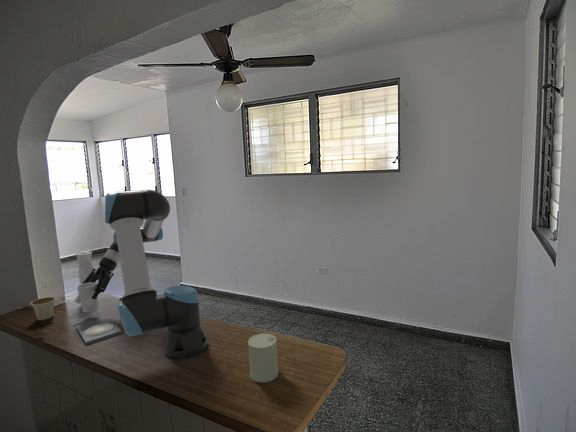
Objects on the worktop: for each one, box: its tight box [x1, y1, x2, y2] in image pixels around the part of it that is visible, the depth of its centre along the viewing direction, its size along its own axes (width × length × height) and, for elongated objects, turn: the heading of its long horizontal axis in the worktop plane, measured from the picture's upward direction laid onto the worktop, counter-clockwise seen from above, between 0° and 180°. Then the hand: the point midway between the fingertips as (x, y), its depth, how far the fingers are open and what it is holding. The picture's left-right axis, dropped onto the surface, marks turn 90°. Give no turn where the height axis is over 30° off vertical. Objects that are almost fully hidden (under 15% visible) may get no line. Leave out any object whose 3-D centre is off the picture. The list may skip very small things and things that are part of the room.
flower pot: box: [30, 296, 56, 321], centre depth 162 cm, size 9×9×9 cm
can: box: [247, 333, 280, 383], centre depth 110 cm, size 9×9×12 cm
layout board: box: [75, 315, 122, 346], centre depth 146 cm, size 20×13×1 cm, turn 41°
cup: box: [76, 281, 99, 313], centre depth 159 cm, size 8×8×12 cm
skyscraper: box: [75, 247, 95, 285], centre depth 181 cm, size 8×8×28 cm
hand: (82, 303), depth 157 cm, fingers closed on cup, 8 cm apart
